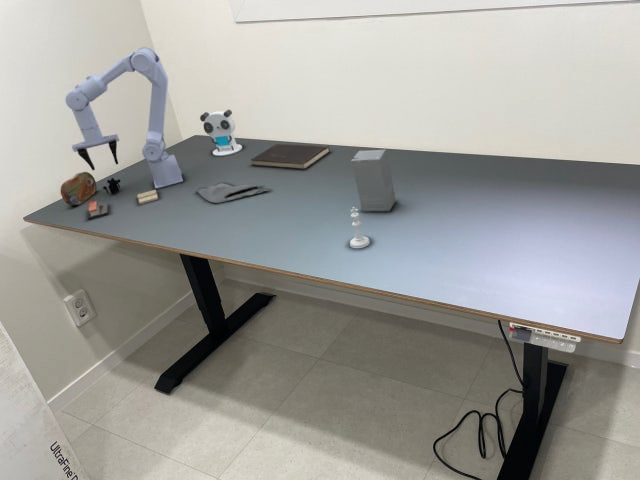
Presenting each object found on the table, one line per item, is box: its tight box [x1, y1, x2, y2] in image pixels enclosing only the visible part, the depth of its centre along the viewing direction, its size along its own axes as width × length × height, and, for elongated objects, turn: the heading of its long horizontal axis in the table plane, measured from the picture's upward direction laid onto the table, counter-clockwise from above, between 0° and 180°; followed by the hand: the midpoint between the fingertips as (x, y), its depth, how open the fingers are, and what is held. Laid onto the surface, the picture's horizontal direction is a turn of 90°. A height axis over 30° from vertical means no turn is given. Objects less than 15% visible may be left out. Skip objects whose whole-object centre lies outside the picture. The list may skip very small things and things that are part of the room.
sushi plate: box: [87, 200, 109, 221], centre depth 183 cm, size 6×8×3 cm
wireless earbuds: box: [102, 177, 121, 195], centre depth 196 cm, size 7×2×5 cm, turn 149°
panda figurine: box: [199, 109, 243, 157], centre depth 216 cm, size 12×11×15 cm
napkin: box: [137, 189, 159, 205], centre depth 188 cm, size 6×6×1 cm
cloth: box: [195, 182, 270, 204], centre depth 181 cm, size 26×14×2 cm, turn 60°
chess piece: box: [349, 206, 370, 249], centre depth 139 cm, size 5×5×10 cm
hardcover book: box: [250, 143, 331, 171], centre depth 200 cm, size 16×23×2 cm
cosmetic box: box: [350, 149, 397, 212], centre depth 153 cm, size 8×7×16 cm
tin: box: [60, 171, 97, 206], centre depth 194 cm, size 15×3×8 cm, turn 168°
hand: (105, 166), depth 192 cm, fingers open, 7 cm apart
